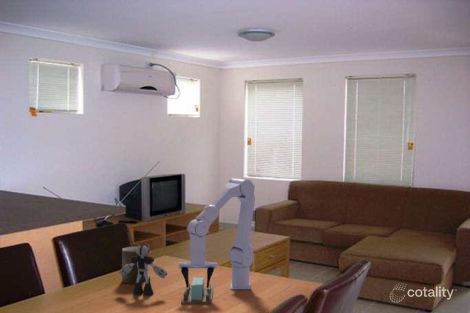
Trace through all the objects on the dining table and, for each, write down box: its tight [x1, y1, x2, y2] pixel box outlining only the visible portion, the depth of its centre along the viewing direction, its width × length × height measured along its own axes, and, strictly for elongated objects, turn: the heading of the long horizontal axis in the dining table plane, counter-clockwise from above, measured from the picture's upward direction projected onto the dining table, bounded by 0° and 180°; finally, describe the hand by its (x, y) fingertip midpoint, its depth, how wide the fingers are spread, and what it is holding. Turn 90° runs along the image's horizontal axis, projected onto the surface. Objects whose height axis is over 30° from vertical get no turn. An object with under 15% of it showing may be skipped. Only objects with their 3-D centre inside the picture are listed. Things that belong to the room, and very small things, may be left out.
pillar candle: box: [121, 245, 145, 285], centre depth 212 cm, size 10×10×15 cm
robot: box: [119, 241, 168, 297], centre depth 195 cm, size 20×5×20 cm, turn 78°
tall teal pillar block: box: [190, 277, 205, 300], centre depth 191 cm, size 12×4×5 cm, turn 0°
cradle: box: [180, 283, 214, 305], centre depth 191 cm, size 16×11×3 cm
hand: (197, 286), depth 191 cm, fingers open, 7 cm apart
